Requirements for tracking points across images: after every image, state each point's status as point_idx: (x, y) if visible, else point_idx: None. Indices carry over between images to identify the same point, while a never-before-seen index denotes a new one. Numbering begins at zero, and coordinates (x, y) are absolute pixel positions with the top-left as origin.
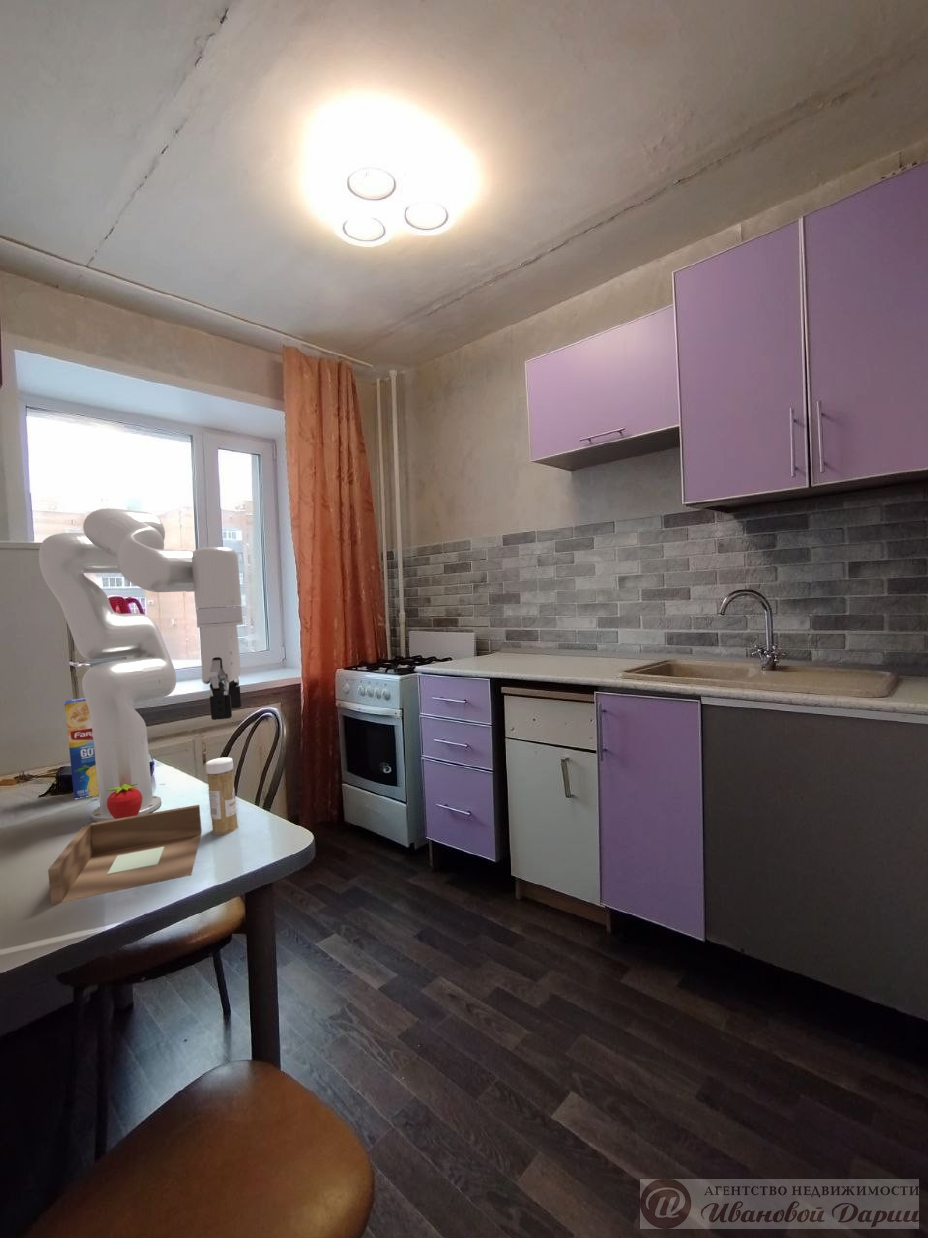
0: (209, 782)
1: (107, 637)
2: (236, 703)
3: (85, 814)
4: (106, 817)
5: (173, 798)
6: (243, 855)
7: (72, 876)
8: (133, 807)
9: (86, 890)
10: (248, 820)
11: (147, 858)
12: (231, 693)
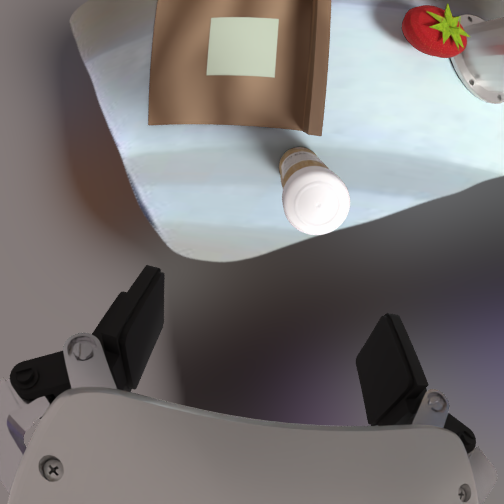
0: (300, 166)
1: None
2: (363, 363)
3: None
4: None
5: (497, 122)
6: (190, 186)
7: None
8: (409, 38)
9: (174, 8)
10: None
11: (236, 58)
12: (379, 389)
